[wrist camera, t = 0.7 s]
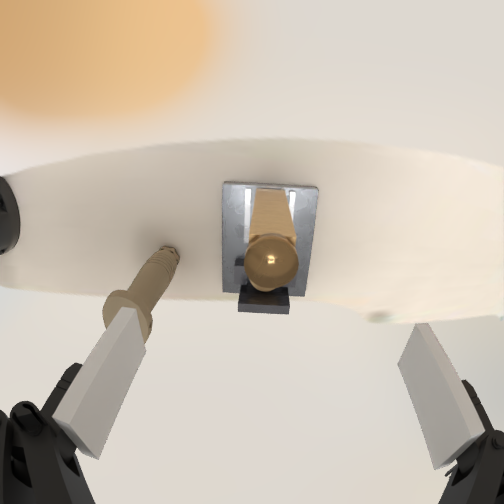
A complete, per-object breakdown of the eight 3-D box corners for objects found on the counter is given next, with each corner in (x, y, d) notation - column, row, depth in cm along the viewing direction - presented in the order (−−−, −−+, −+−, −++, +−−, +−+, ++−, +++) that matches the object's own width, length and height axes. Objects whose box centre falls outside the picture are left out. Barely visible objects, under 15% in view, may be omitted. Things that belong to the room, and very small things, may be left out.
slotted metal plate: (224, 286, 40) (217, 314, 34) (224, 181, 34) (215, 194, 28) (303, 290, 40) (308, 319, 34) (316, 186, 34) (326, 201, 28)
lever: (253, 216, 34) (243, 286, 20) (254, 186, 32) (244, 238, 18) (284, 218, 34) (295, 289, 20) (286, 188, 32) (301, 241, 18)
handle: (187, 237, 37) (146, 303, 24) (184, 279, 40) (149, 353, 27) (153, 231, 37) (99, 291, 24) (152, 272, 40) (107, 341, 26)
